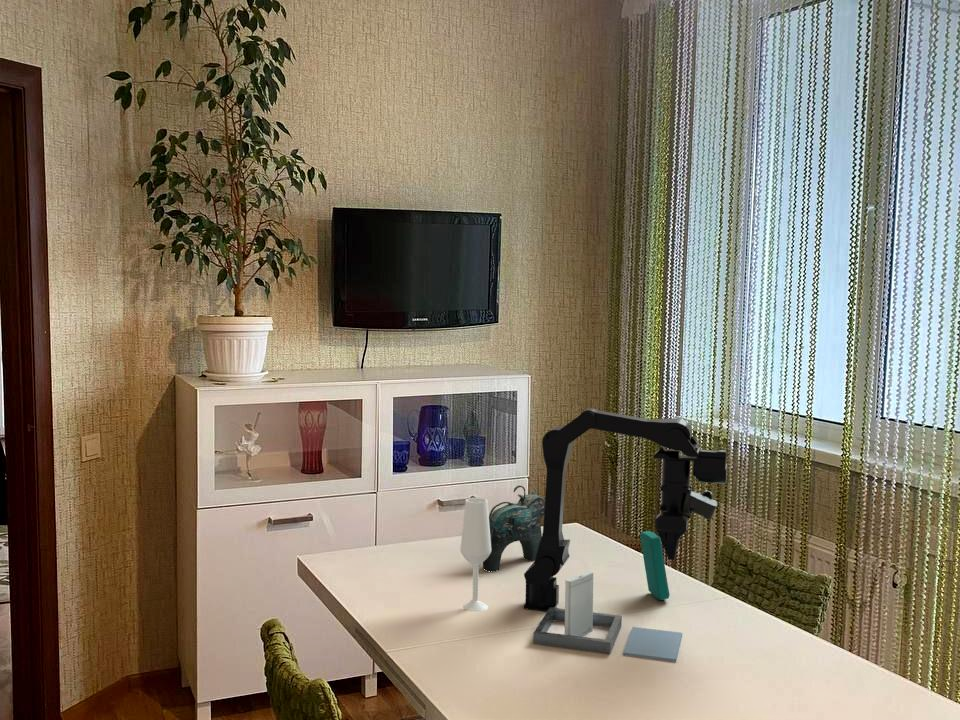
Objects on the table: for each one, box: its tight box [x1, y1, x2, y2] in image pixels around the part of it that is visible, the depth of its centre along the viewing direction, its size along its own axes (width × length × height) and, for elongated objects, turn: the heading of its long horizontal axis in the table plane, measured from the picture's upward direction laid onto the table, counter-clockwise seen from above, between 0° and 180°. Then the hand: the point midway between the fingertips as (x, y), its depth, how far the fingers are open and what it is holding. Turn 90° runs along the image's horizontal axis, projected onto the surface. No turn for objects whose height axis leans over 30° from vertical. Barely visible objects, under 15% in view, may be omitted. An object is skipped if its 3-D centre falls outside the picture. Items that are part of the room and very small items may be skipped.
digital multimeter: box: [639, 530, 670, 601], centre depth 214 cm, size 7×15×3 cm
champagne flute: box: [459, 497, 491, 612], centre depth 205 cm, size 7×7×24 cm
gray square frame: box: [532, 607, 623, 655], centre depth 191 cm, size 15×15×2 cm
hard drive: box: [564, 571, 594, 637], centre depth 190 cm, size 2×8×12 cm, turn 139°
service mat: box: [622, 626, 683, 663], centre depth 187 cm, size 10×14×1 cm
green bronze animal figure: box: [482, 485, 545, 573], centre depth 236 cm, size 20×6×20 cm, turn 133°
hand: (673, 553), depth 198 cm, fingers open, 9 cm apart
